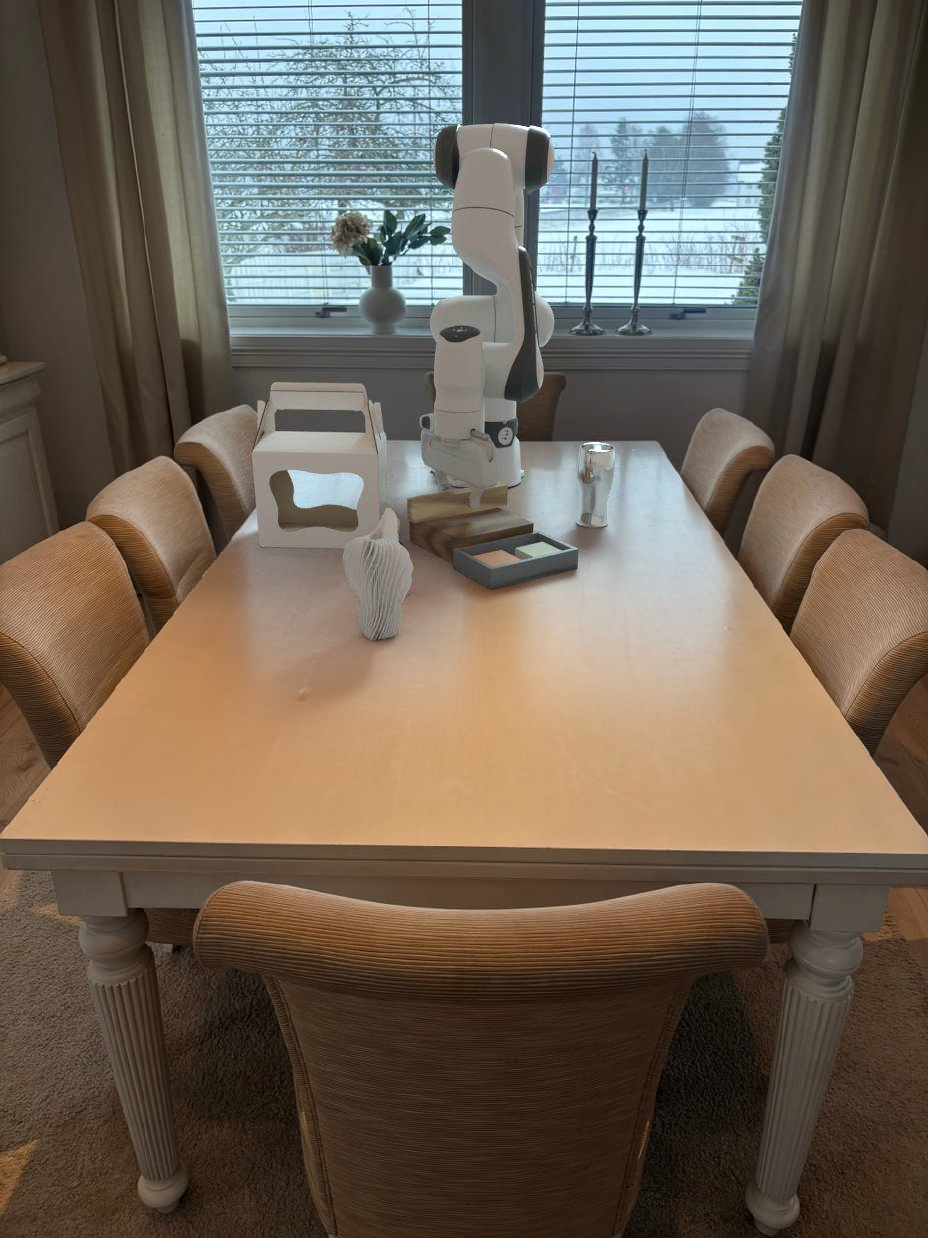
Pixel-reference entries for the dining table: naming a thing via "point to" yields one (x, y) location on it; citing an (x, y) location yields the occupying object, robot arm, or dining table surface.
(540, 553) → the sage tile
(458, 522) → the dark wooden square block
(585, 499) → the beer glass
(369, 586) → the shell sculpture
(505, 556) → the terracotta tile
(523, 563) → the box
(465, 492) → the bar
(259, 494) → the gable box
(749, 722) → the dining table surface
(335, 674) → the dining table surface
